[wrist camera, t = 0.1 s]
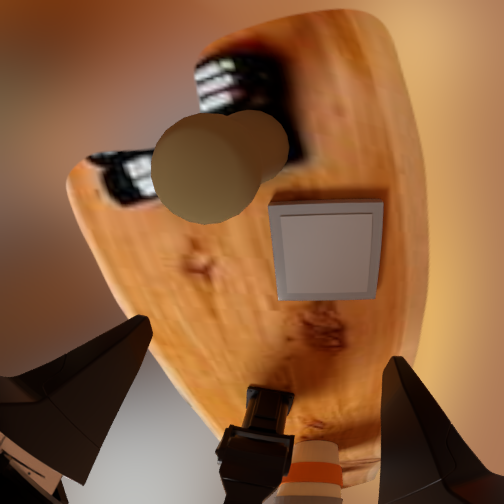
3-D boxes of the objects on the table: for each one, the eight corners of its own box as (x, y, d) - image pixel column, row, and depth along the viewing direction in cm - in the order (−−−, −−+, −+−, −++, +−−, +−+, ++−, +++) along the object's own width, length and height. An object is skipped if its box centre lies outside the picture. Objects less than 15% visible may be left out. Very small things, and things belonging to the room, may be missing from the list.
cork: (288, 108, 18) (263, 95, 8) (289, 185, 21) (266, 248, 11) (211, 112, 19) (123, 115, 10) (215, 184, 22) (142, 241, 12)
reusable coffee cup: (311, 431, 38) (300, 507, 25) (360, 444, 39) (356, 510, 26) (272, 447, 44) (257, 508, 31) (318, 460, 45) (310, 516, 32)
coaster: (373, 292, 23) (375, 299, 22) (279, 294, 26) (278, 301, 25) (380, 198, 19) (383, 202, 18) (269, 202, 22) (267, 206, 21)
